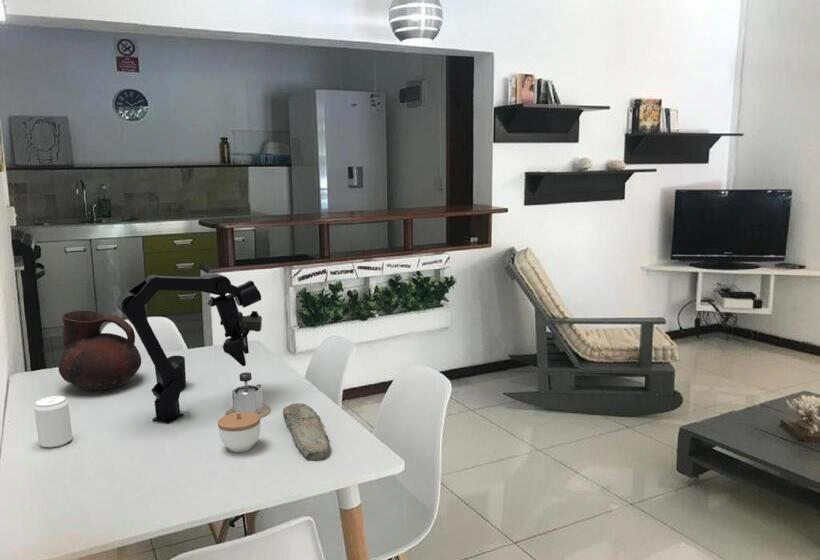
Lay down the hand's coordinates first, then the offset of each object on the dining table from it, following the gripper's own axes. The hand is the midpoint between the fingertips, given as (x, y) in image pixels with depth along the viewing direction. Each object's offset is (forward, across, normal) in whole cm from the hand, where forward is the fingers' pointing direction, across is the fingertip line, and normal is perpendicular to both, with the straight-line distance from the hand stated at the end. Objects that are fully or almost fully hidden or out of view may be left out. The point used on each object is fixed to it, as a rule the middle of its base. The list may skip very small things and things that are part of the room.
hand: (245, 359), depth 210 cm
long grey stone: (+14, -31, -15) cm, 38 cm away
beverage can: (-1, -24, +50) cm, 55 cm away
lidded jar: (+9, -36, +1) cm, 38 cm away
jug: (+4, +22, +52) cm, 57 cm away
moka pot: (+12, -12, +2) cm, 17 cm away
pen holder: (+8, +13, +29) cm, 33 cm away
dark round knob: (+6, -12, 0) cm, 13 cm away
